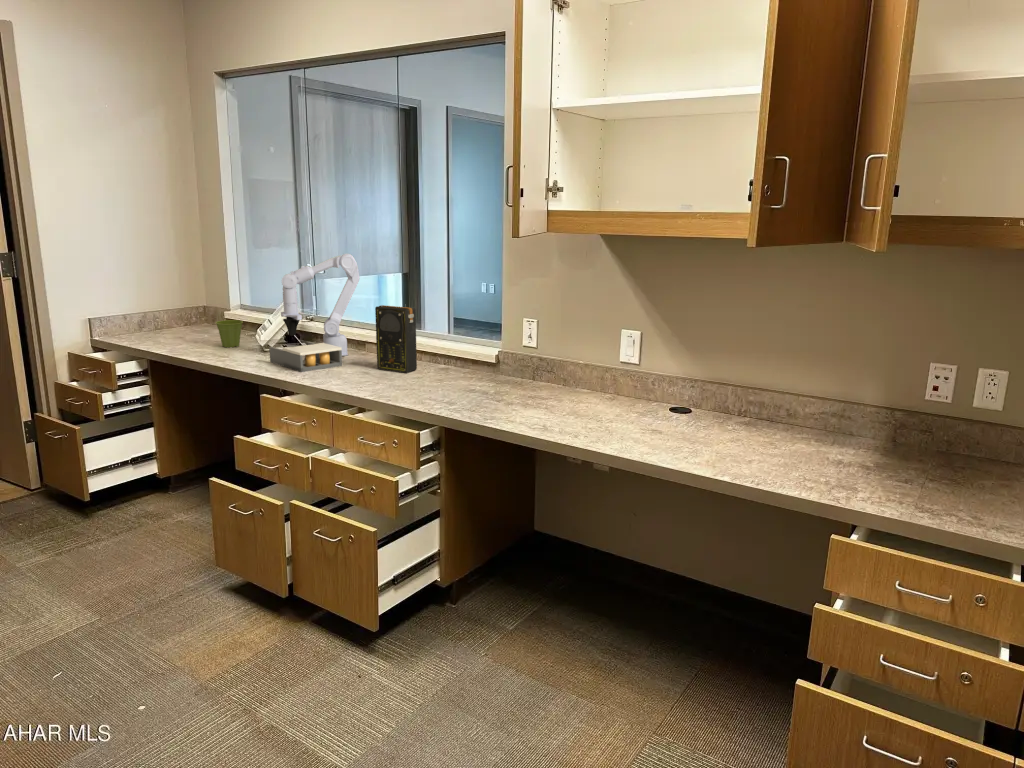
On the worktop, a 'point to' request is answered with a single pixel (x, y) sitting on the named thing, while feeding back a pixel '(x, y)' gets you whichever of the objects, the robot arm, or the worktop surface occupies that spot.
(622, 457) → the worktop surface
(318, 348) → the lid
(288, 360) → the housing
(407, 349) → the voltmeter
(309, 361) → the orange rounded cylinder
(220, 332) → the plant pot
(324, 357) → the peg
